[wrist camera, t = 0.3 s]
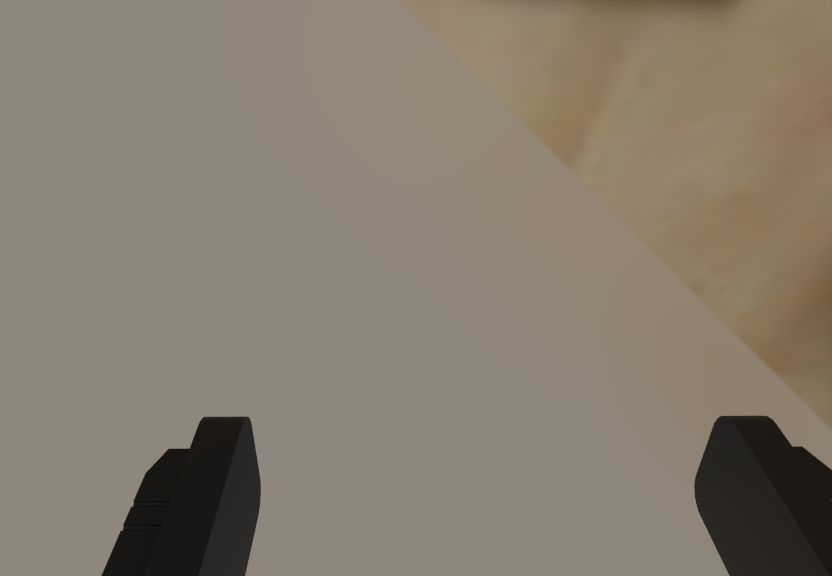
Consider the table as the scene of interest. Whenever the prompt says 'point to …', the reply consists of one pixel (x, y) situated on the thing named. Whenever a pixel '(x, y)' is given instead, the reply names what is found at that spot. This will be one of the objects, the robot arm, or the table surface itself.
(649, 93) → the table surface
